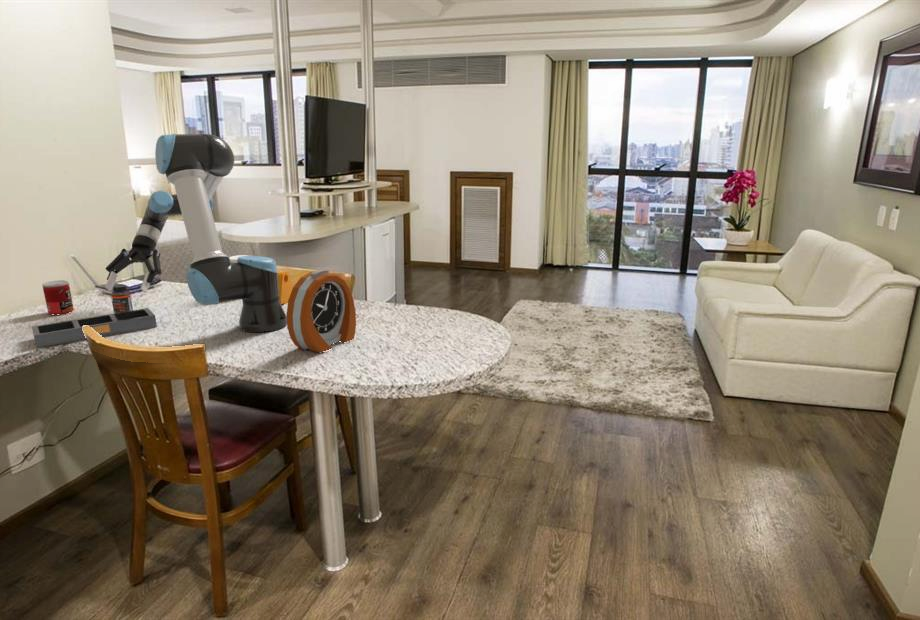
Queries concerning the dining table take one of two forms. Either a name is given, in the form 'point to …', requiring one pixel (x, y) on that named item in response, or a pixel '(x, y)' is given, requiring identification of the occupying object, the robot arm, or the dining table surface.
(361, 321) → the dining table surface
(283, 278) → the yellow cheese block
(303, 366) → the dining table surface
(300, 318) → the alarm clock
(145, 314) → the compartment tray
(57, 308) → the canned food
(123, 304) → the supplement bottle
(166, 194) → the robot arm
